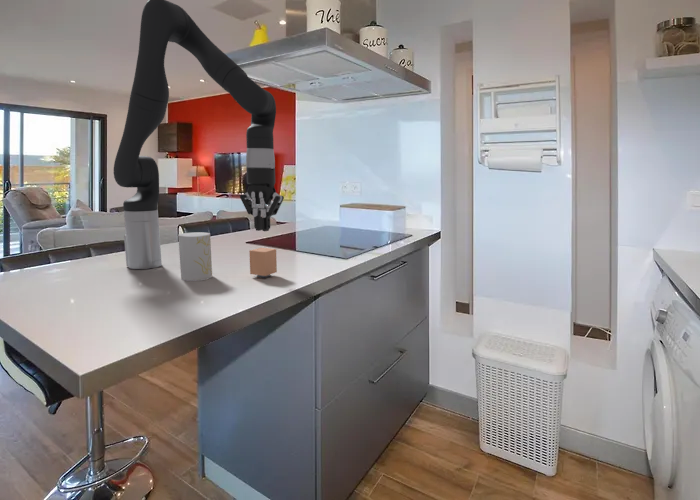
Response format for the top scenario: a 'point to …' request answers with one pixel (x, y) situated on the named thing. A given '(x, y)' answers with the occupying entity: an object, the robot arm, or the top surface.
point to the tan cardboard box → (263, 261)
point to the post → (263, 276)
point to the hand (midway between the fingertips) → (262, 230)
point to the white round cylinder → (195, 256)
